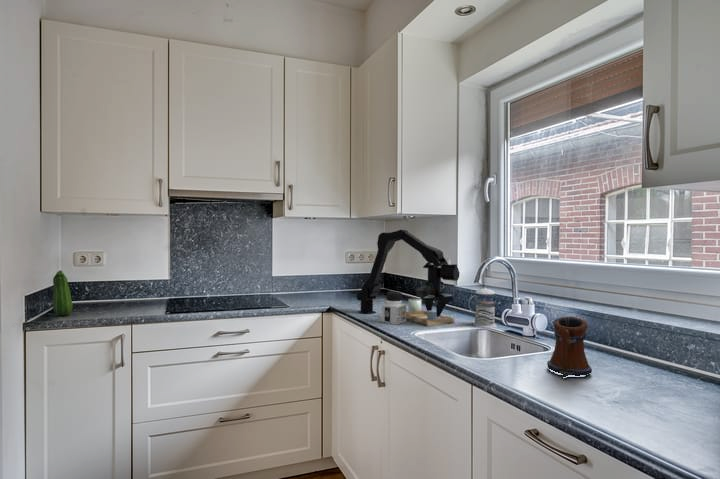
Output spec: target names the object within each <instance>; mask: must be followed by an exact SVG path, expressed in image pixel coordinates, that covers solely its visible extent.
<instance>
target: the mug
mask: <svg viewBox="0 0 720 479" xmlns="http://www.w3.org/2000/svg"><path fill="white" fill-rule="evenodd" d="M552 323H553V328H554V333H553V335H554V337H555V343H554V344H555V346H554V350H553V352H552V355H551V358H550V360H547V362H546V363H547V364H546V365H547V369H548V368H549V369H551V370H553V371H555V372H558V373H561V374H563V375H562V376H561V377H566V376H568V375H575V376H580V375H587V374H589V373H591V374H592V372H593V368H592V367H591V365H590V364H589V362H588V358H587V356H586V353H585V352H586V351H585V342H584V341H585V340H586V338H587V335H586V334H587V333H586V331H587V328H588V323H587V321H585V320H583V319H582V318H579V317H575V316H563V317H558V318H556V319H555V320H554V321H552Z"/></svg>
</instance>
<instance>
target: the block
mask: <svg viewBox="0 0 720 479" xmlns="http://www.w3.org/2000/svg"><path fill="white" fill-rule="evenodd" d="M426 311H427V310H426ZM435 319H440V316H439V317H437V312H436V310H435V309H432V310H430V311H427V320H435Z"/></svg>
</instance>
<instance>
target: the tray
mask: <svg viewBox="0 0 720 479" xmlns="http://www.w3.org/2000/svg"><path fill="white" fill-rule="evenodd" d="M406 321H410V322H413V323H417V324H418V325H419V324H420V325H422V326H426V327H431V326H440V325H441V326H442V325H449V324H450V325H451V324H455V318H454V317H452V316H448V315H444V314H441V315H440V319H435V320H427V309H426V310H425V309H423V310H421V311H413V312H408V311H406Z"/></svg>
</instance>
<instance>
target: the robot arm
mask: <svg viewBox="0 0 720 479" xmlns="http://www.w3.org/2000/svg"><path fill="white" fill-rule="evenodd" d="M398 241H403V242H405V243H406V244H408V245H409V246H410V247H412V248H413V249H414V250H416V251H417V252H418V253H420V254H421V256H422V257H423V259H425V261H426V264H424V265H423V266H422V268H423V269H427V280H425V282H424V284H423V285H421V286H419V287H417V288H415V297H418V298H419V299H421V300H422V301H423V302H424V305H425V308H426V311H430V310H433V305H434V303H435V307H436V308H435V309H436V312H437V317H439V316H440V315H442V313H443V311H444V308H445V307H446V305H447V304H448V303H449V302H453V301H454V296H453V294H452V293H444V291H443V290H442V285H443V284H444V281H455V282H457V281H458V280H459V278H460V269H459V267H458V264H455V263H453V264H451V263H450V264H449V263H448V261H447V260H446V258H445V257H444V253H443V251H442V250H441V249H439V248H436V247H433V246H431V245H428V244H426V243H425V242H423V241H422V240H420V239H419V238H418V237H416V236H415V235H413V234H411V232H410V231H408V229H398V230H396V231H390V232H389V231H388V232H387V231H385V232H381V233H379V234H378V237H377V243H376V245H377V252H376V255H375V258H374V261H373V264H372V268H371V270H370V273H369V275H368V276H369V277H368V278H367V280H365V282H364V283H363V285H362V288H361V290H360V291H359V292H358V293H357V295H356V299H357V301H360V310H357V312H358V313H361V314H363V315H365V314H376V311H374V300H376V298H377V297H378V295H379V294H380V293H381V288H382V286H383V284H381V283H380V278H381V275H382V272H383V269H384V266H385V263H386V260H387V257H388V253H389V252H390V251H391V250H392V249H393V247H394V246H395V244H396V242H398ZM442 280H444V281H442ZM435 299H436V300H435Z"/></svg>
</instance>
